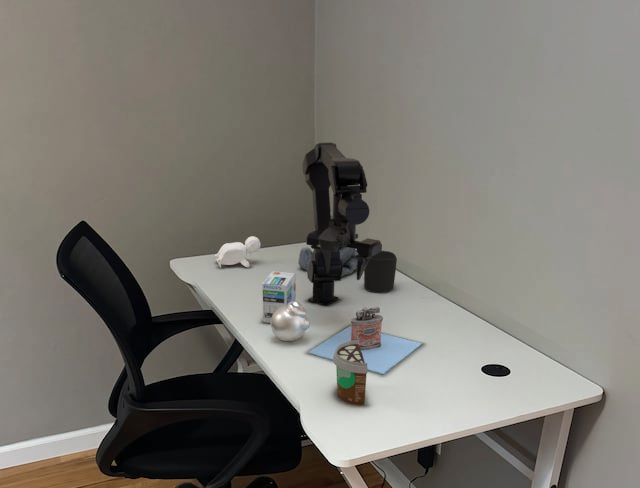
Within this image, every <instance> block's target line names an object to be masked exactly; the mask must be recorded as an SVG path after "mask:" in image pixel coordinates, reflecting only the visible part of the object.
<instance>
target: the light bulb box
mask: <svg viewBox="0 0 640 488" xmlns="http://www.w3.org/2000/svg"><path fill="white" fill-rule="evenodd" d="M296 275H297V274H296V272H285V271H284V272H283V271H276V270H275V271H271V272H270V273H269V275H268V276H267V278H266V279H265V280H263V282H262V284H261V286H262V318H263V319H262V322H263V323H266V324H267V323H268V324H271V318H272V315H273V313H274V312H275V311H276V310H277V309H278V308H280V307H282V306H285V305H288V303H289V302H291V301H297V276H296Z"/></svg>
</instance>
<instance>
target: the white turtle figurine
mask: <svg viewBox="0 0 640 488" xmlns="http://www.w3.org/2000/svg"><path fill="white" fill-rule="evenodd" d="M260 249H261V241H260V239H259V238H258V236H257V237H256V236H255V235H254V236H253V235H252V236H249V237H247V238H246V240H245V241H244V244H243V242H239V241H234V242H227V243H224V244H223V245H222V246H221V247H220V248H219V250H218V252H216V254H215V255H214V257H215V259H216V262H217V265H218V266H219V269H222V266H232V265H236V264H239V263H240V264H241V265H242V266H244V267H245V268H248V269H249V268H250V267H251V266H250V262H249V261H248V260H247V252H248V253H249V254H254V253H256V252H258V251H259V250H260Z"/></svg>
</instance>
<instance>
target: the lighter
mask: <svg viewBox="0 0 640 488" xmlns="http://www.w3.org/2000/svg"><path fill="white" fill-rule="evenodd" d="M380 313H381V307H379V306H373V307H370V308H367V307H362V308H361V309H358V310H356V311H355V316H356V317H353V318H350V323H351V326H352V330H351V341H354V340H359V347H360V350H361V351H365V350H371V349H375V348H379V347H381V333H382V324H383V319H384V317H383V315H381V314H380Z"/></svg>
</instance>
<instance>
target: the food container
mask: <svg viewBox="0 0 640 488" xmlns="http://www.w3.org/2000/svg"><path fill="white" fill-rule="evenodd" d="M332 361H333V365H335V369H336V371H335V372H336V388H337V389H336V391H337V393H336V394H337V397H338V398H339V399H340V400H341V401H343V402H345V403H348V404H351V405H357V406H365V402H366V387H367V374H368V370H367V363H365V362H364V358H363V355H362V352H361V350H360V347H359V340H354V341H348V342H345V343H342V344H340V345H339V346H338V347H337V348H336V350H335V353H334V357H333V360H332Z"/></svg>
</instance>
